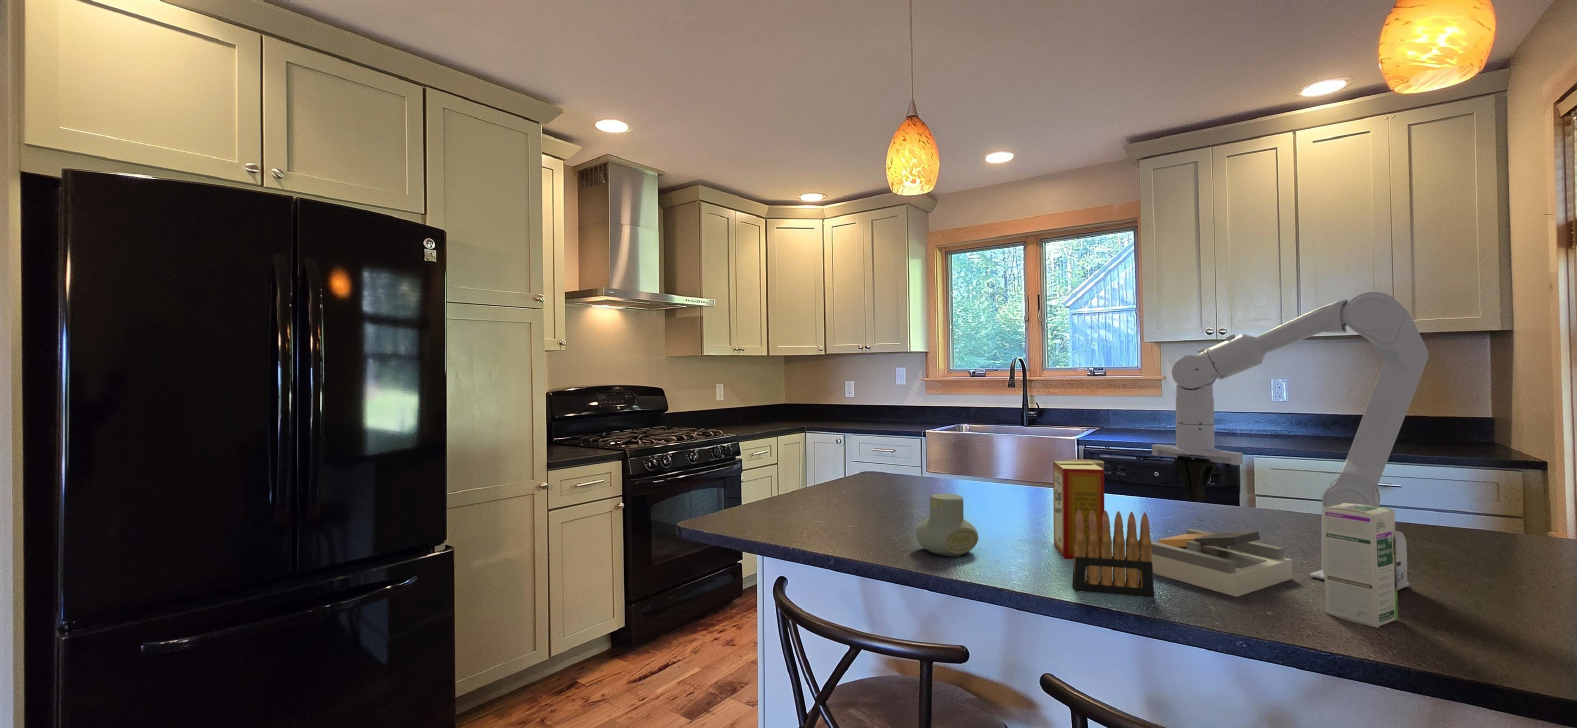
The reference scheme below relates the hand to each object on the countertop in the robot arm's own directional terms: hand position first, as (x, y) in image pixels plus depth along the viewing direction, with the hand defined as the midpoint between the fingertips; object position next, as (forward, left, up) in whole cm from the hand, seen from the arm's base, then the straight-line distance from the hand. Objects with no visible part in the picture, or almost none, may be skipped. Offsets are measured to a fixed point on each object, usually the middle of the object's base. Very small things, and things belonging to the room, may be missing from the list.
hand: (1195, 500), depth 114 cm
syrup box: (-27, +11, -10) cm, 31 cm away
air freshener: (+23, +37, -10) cm, 45 cm away
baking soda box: (+11, +17, -10) cm, 22 cm away
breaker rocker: (-7, +9, -5) cm, 12 cm away
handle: (+16, +8, -10) cm, 20 cm away
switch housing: (-7, +9, -9) cm, 15 cm away
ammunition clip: (-5, +30, -10) cm, 32 cm away
